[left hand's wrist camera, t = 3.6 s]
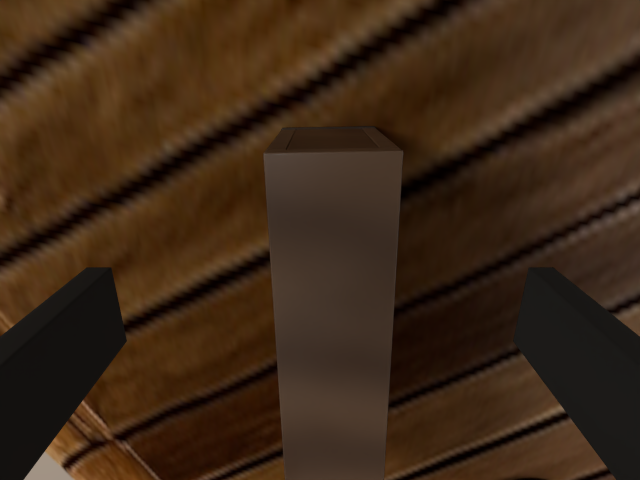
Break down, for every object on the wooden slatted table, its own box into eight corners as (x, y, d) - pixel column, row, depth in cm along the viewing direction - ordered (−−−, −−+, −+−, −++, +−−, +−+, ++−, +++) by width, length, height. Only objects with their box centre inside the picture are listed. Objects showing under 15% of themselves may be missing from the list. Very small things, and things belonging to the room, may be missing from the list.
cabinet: (365, 397, 33) (382, 513, 24) (295, 398, 33) (287, 514, 24) (374, 126, 25) (404, 150, 16) (282, 127, 25) (262, 152, 16)
